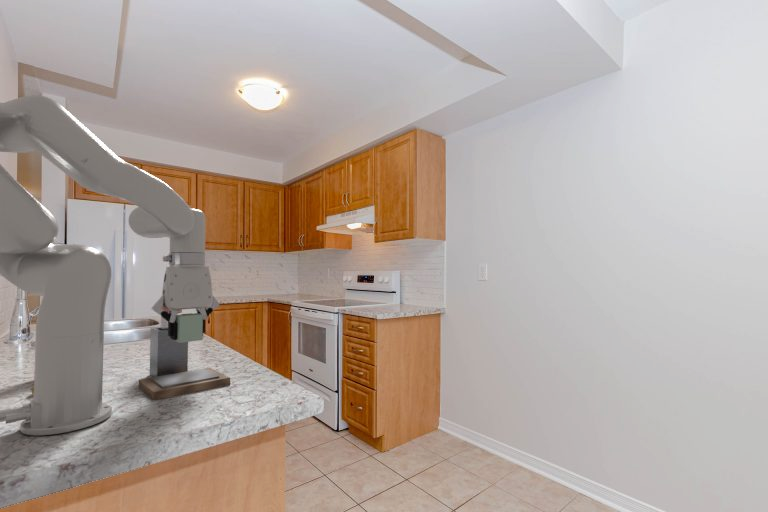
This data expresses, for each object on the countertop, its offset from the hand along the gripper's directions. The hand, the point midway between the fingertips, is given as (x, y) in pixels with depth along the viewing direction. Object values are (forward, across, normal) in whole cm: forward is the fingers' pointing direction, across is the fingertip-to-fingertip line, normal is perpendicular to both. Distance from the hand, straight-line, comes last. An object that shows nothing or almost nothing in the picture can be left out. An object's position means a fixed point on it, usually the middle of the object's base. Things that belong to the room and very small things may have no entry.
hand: (187, 336), depth 91 cm
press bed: (+11, 0, 0) cm, 11 cm away
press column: (+11, 0, +13) cm, 17 cm away
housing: (+1, 0, 0) cm, 1 cm away
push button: (+2, 0, +13) cm, 13 cm away
